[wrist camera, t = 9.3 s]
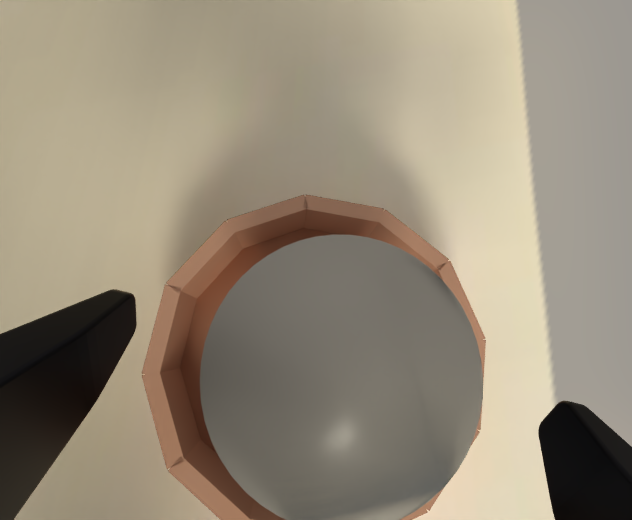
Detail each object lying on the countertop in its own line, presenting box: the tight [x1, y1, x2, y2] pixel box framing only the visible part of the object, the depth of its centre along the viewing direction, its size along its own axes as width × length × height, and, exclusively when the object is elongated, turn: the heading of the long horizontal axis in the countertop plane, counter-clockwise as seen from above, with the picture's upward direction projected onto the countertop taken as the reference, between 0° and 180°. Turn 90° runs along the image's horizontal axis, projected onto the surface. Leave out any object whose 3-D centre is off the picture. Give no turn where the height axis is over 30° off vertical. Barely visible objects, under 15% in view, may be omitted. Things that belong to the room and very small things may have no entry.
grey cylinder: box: [200, 235, 483, 520], centre depth 12 cm, size 6×6×9 cm
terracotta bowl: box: [142, 195, 486, 520], centre depth 15 cm, size 12×12×4 cm
